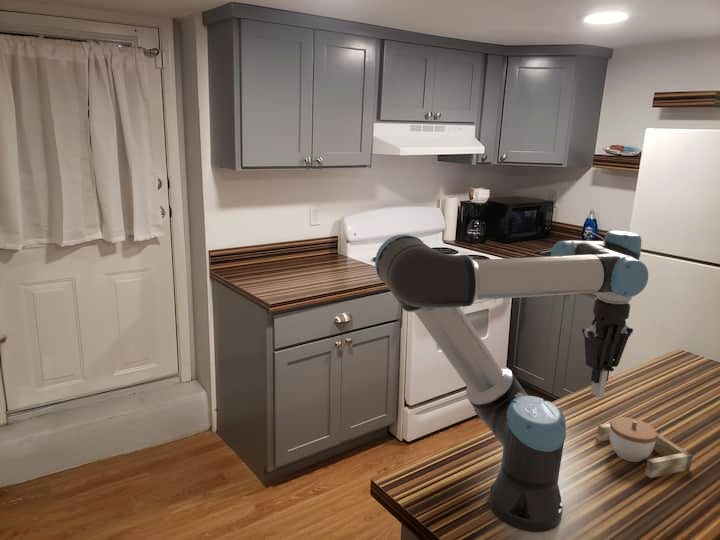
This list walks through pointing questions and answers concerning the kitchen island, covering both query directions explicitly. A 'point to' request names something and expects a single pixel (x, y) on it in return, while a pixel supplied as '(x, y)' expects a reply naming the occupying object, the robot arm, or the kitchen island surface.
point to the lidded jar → (632, 438)
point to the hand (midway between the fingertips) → (596, 394)
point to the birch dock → (672, 453)
